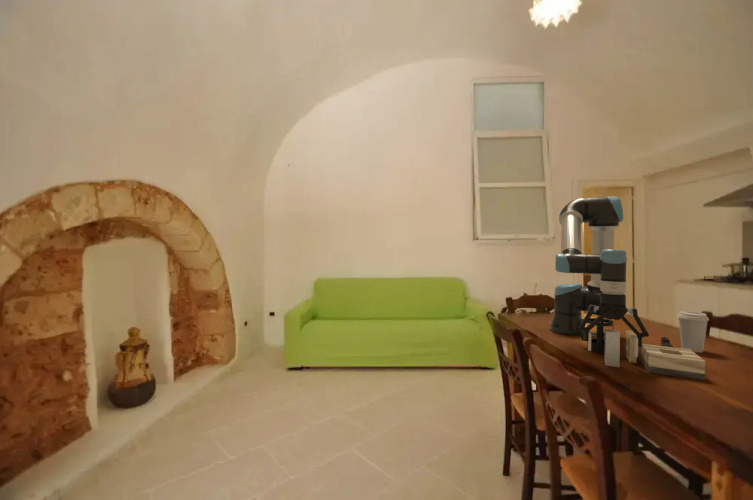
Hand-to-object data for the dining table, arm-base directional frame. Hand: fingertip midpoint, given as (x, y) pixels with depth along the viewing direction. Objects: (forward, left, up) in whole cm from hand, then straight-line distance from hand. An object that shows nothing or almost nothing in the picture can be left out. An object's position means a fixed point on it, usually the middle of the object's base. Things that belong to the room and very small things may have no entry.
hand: (612, 352), depth 122 cm
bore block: (-4, +17, -4) cm, 18 cm away
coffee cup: (-36, +31, -4) cm, 48 cm away
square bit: (0, 0, -4) cm, 4 cm away
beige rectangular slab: (-10, +7, -4) cm, 13 cm away
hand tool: (-27, +21, -5) cm, 35 cm away
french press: (-18, -2, -4) cm, 19 cm away
